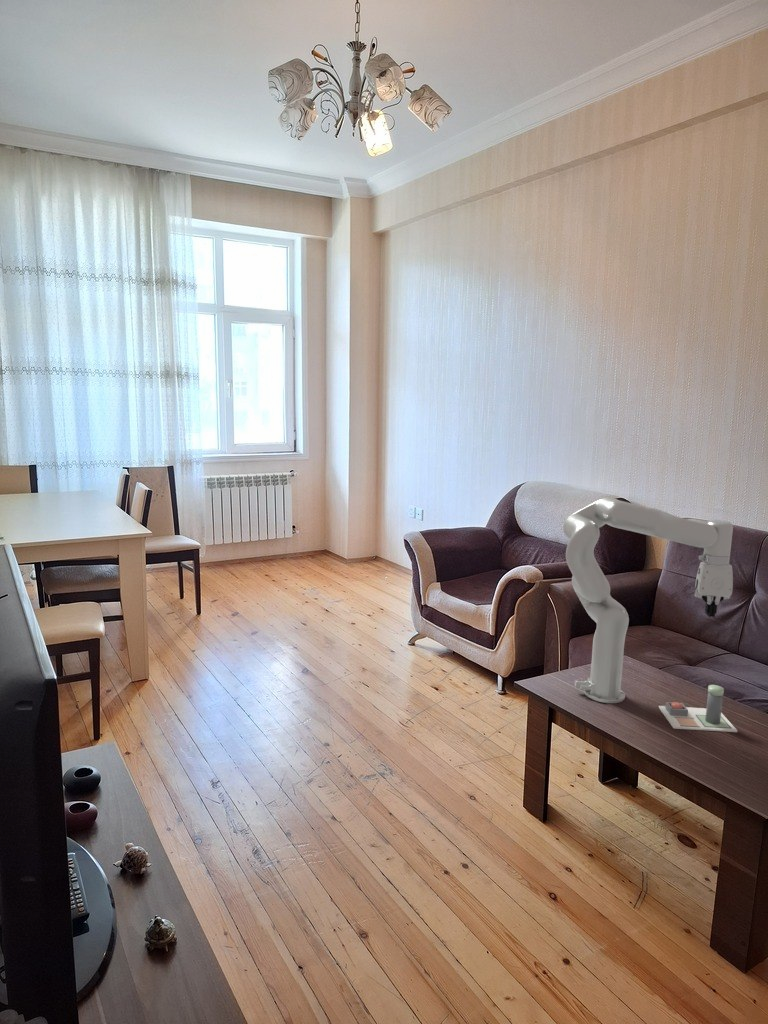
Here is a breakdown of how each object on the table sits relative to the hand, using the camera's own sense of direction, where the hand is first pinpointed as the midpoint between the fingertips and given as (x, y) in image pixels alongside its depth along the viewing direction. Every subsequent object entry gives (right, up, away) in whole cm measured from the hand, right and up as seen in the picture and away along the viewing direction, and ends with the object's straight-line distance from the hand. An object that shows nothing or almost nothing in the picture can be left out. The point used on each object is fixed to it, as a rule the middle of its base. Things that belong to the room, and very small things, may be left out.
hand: (710, 615), depth 218 cm
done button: (-15, -28, -9) cm, 33 cm away
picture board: (-10, -29, -12) cm, 34 cm away
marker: (-6, -29, -15) cm, 33 cm away
